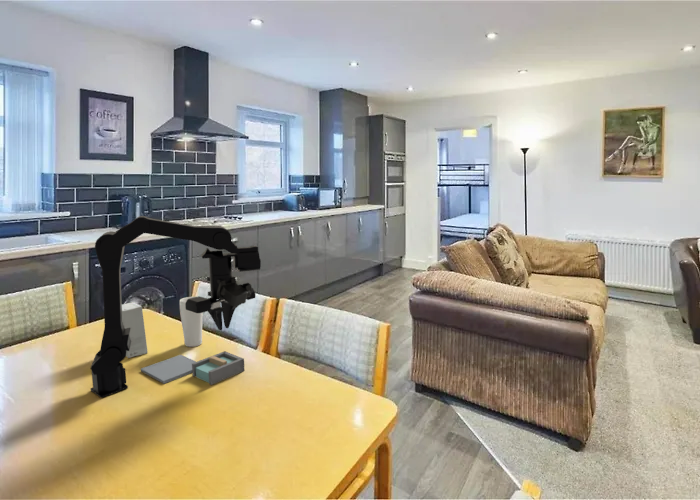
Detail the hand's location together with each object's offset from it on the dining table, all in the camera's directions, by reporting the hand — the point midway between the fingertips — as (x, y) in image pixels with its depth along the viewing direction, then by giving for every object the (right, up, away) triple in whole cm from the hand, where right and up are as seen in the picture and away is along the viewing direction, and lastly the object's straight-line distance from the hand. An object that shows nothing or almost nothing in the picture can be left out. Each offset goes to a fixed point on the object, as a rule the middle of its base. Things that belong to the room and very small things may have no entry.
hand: (223, 329), depth 117 cm
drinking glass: (-16, -9, +21) cm, 27 cm away
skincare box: (-32, -10, +14) cm, 36 cm away
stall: (-2, -12, 0) cm, 12 cm away
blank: (-2, -13, 0) cm, 13 cm away
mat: (-15, -12, +2) cm, 19 cm away
